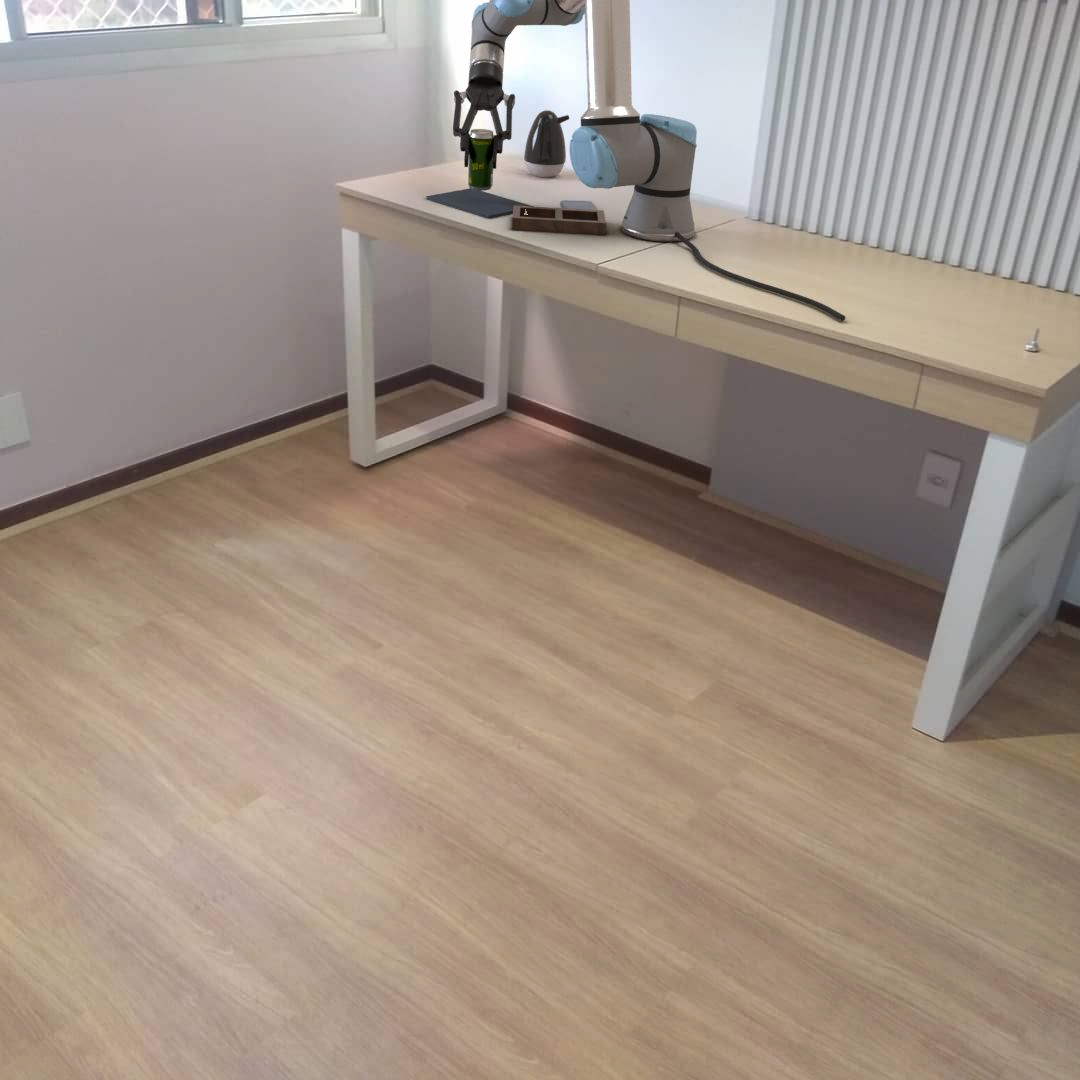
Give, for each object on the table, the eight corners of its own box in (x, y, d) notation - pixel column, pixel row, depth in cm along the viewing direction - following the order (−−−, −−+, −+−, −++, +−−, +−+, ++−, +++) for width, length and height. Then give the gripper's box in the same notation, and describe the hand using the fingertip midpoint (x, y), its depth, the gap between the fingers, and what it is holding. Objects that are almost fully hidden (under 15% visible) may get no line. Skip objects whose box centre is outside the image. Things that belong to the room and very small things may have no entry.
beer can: (491, 185, 258) (493, 129, 252) (493, 191, 254) (495, 134, 248) (467, 184, 258) (468, 128, 252) (468, 190, 253) (470, 133, 247)
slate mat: (534, 209, 256) (534, 206, 256) (488, 218, 247) (488, 215, 247) (471, 190, 268) (471, 187, 267) (426, 198, 258) (426, 196, 258)
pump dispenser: (565, 181, 281) (569, 115, 273) (522, 178, 281) (525, 112, 273) (565, 171, 290) (569, 108, 282) (524, 169, 290) (527, 105, 282)
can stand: (602, 222, 250) (603, 210, 248) (604, 235, 240) (605, 223, 239) (513, 217, 249) (513, 205, 248) (511, 229, 240) (512, 217, 239)
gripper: (527, 84, 259) (522, 176, 253) (445, 79, 259) (438, 171, 253) (528, 62, 252) (523, 156, 246) (443, 57, 252) (436, 151, 246)
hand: (480, 164), depth 249 cm, fingers closed on beer can, 5 cm apart
